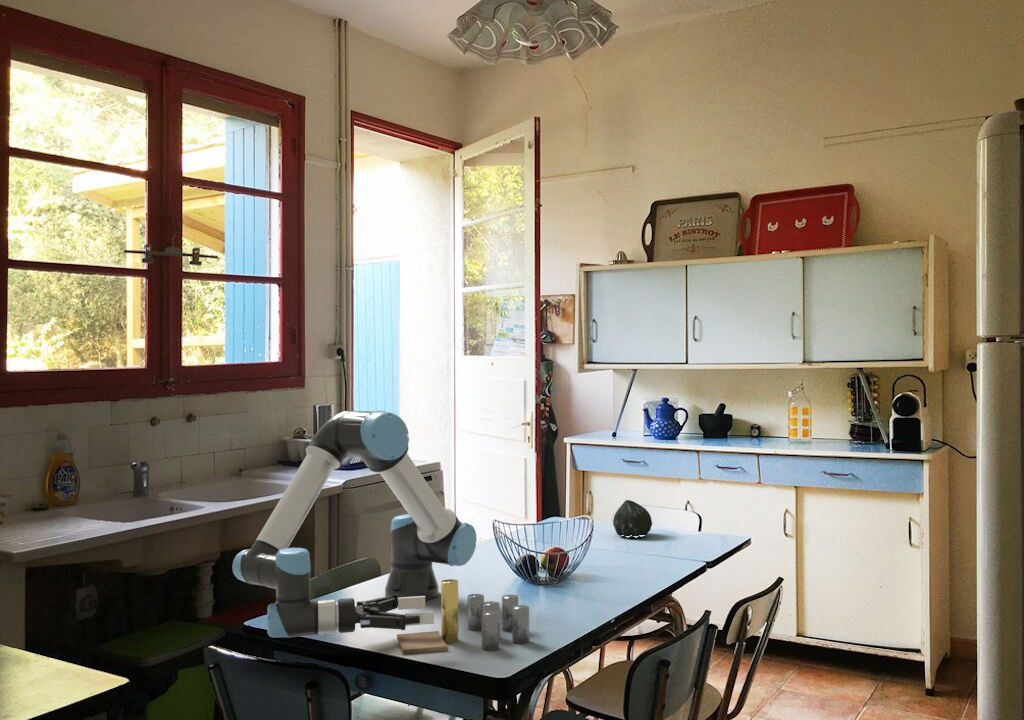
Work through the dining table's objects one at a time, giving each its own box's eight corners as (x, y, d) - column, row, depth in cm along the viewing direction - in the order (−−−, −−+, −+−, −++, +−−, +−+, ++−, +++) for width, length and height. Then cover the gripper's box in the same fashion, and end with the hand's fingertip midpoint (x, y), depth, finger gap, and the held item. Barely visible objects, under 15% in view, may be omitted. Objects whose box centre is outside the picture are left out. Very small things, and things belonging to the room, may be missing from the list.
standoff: (440, 638, 208) (439, 580, 208) (456, 637, 209) (456, 578, 209) (443, 643, 204) (442, 583, 204) (460, 642, 205) (459, 582, 205)
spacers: (466, 626, 218) (466, 594, 218) (513, 622, 221) (512, 591, 221) (484, 651, 198) (483, 616, 198) (534, 647, 201) (534, 612, 201)
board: (396, 638, 208) (396, 634, 208) (438, 635, 211) (438, 631, 211) (403, 654, 197) (403, 649, 197) (446, 650, 199) (446, 646, 199)
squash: (657, 519, 339) (631, 490, 340) (660, 527, 324) (632, 497, 325) (630, 543, 340) (604, 514, 341) (631, 552, 325) (604, 522, 326)
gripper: (334, 617, 212) (421, 611, 217) (340, 649, 188) (437, 641, 193) (334, 586, 212) (421, 580, 217) (339, 614, 188) (437, 607, 193)
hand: (429, 609), depth 205 cm, fingers open, 13 cm apart
